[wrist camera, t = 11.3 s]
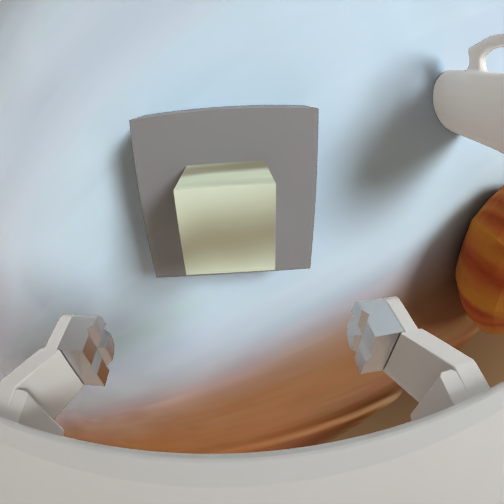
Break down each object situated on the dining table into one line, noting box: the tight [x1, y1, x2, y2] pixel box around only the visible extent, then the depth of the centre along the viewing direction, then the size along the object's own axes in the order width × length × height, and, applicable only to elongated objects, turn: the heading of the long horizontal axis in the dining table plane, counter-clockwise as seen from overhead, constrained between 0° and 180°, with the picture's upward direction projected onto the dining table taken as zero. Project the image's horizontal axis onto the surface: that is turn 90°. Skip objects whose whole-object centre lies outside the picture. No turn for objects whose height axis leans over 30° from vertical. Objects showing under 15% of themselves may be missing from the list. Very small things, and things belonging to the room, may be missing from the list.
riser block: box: [129, 105, 318, 277], centre depth 21 cm, size 12×12×4 cm
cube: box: [173, 161, 276, 275], centre depth 18 cm, size 5×5×5 cm
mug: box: [433, 34, 504, 153], centre depth 14 cm, size 10×7×12 cm, turn 7°
